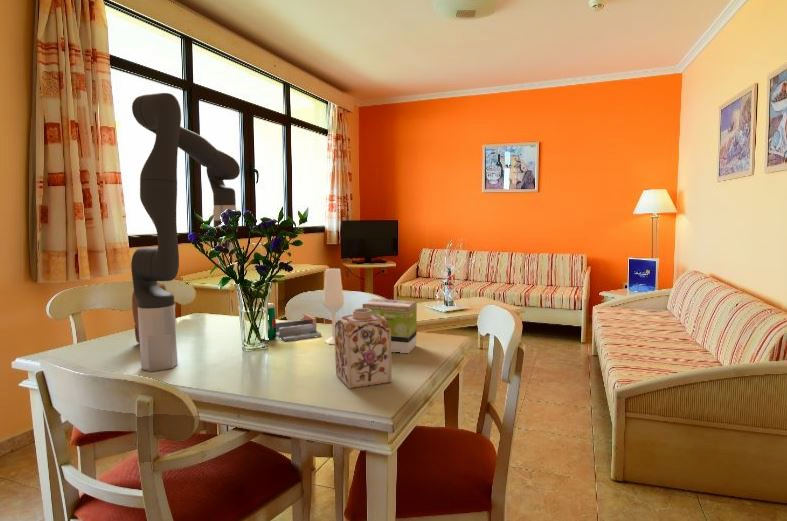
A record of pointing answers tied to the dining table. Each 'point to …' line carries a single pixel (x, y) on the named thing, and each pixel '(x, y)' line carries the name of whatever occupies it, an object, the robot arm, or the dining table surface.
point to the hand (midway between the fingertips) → (227, 267)
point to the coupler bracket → (297, 329)
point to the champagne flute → (333, 296)
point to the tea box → (398, 321)
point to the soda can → (271, 322)
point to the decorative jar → (363, 349)
